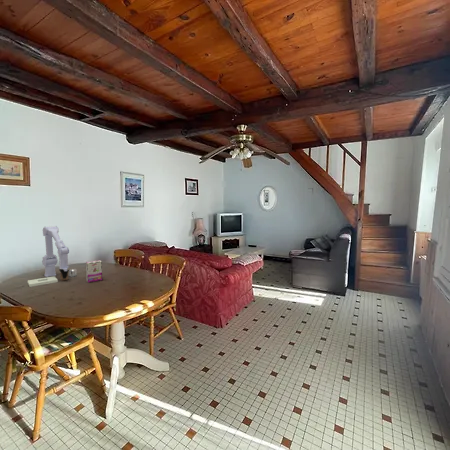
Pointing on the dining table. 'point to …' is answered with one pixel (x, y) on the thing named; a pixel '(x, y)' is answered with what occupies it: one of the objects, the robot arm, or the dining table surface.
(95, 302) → the dining table surface
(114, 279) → the dining table surface
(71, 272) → the grey round peg
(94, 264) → the candy bar box
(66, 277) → the walnut bar
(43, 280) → the socket plate
